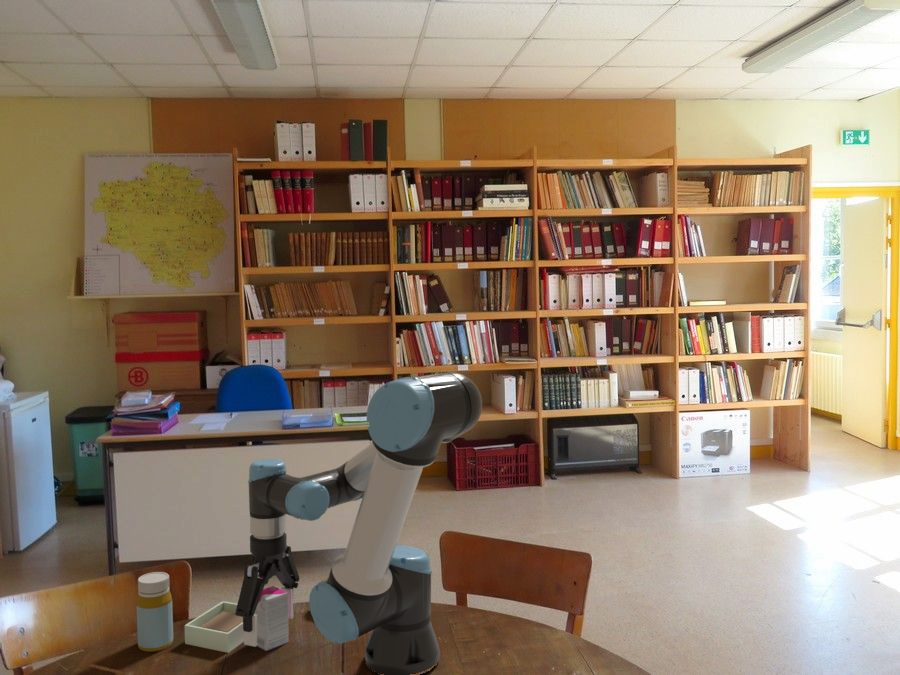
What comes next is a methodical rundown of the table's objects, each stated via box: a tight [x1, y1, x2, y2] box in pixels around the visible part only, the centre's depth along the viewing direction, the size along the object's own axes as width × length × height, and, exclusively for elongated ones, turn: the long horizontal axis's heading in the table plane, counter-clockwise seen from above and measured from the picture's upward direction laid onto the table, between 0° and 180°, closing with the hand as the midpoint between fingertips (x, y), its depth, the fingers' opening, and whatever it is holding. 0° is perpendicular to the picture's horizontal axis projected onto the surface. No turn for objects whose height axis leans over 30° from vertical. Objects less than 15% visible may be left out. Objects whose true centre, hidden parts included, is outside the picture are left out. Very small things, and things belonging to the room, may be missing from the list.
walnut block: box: [200, 611, 243, 633], centre depth 171 cm, size 7×8×3 cm
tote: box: [184, 600, 244, 653], centre depth 171 cm, size 11×13×4 cm
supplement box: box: [254, 585, 289, 652], centre depth 167 cm, size 6×6×12 cm
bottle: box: [136, 571, 174, 653], centre depth 166 cm, size 7×7×15 cm
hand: (269, 630), depth 167 cm, fingers open, 13 cm apart
